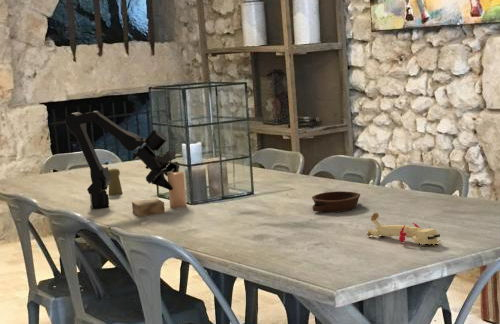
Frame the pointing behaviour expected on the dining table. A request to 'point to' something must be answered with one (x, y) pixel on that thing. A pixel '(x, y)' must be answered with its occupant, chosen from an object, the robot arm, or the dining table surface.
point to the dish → (335, 201)
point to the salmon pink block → (177, 189)
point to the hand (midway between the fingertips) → (177, 187)
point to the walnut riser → (148, 207)
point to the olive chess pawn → (115, 183)
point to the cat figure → (404, 232)
